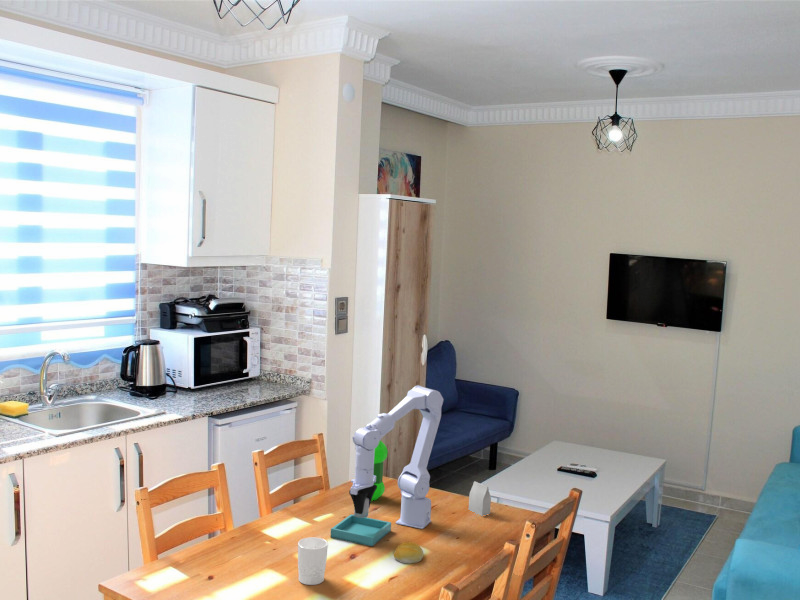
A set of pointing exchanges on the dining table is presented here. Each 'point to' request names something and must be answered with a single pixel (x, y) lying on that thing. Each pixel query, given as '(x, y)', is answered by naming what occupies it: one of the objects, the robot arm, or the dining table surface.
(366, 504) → the white cylinder
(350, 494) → the robot arm
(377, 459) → the plastic bottle
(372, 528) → the tray
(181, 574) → the dining table surface
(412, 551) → the bread roll
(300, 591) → the dining table surface
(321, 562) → the white cup
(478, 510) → the white gable top carton
